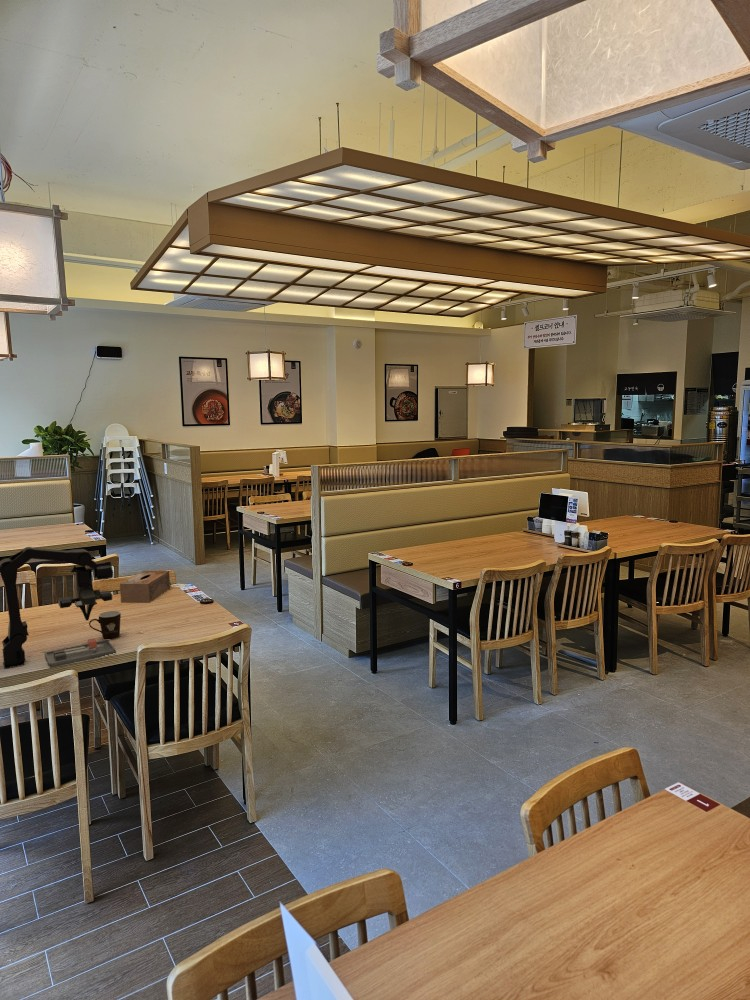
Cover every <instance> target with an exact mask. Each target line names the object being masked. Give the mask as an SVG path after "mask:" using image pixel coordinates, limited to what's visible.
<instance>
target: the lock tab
mask: <svg viewBox="0 0 750 1000" xmlns="http://www.w3.org/2000/svg"><path fill="white" fill-rule="evenodd" d="M96 642H97V640H96V638H90V639H89V638H88V639H87V644H88V646H89V647H90V648H94V647H97V643H96Z"/></svg>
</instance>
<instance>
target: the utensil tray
mask: <svg viewBox="0 0 750 1000" xmlns="http://www.w3.org/2000/svg"><path fill="white" fill-rule="evenodd" d="M96 643H97V645H99V644H104V645H105V650H104V651H99V652H96V653H93V654H89V655H84V656H79V657H75V658H70V659H65V660H61V661H55V659H54V651H59V650H66V649H72V648H77V647H83V646H85V648H87V647H88V643H83V644H80V645H79V644H78V645H75V646H70V647H69V646H68V647H64V648H60V649H54V650H48V651H44V654H43V655H44V657H45V660H46V663H47V662H48V663H47V665H48V667H49V669H51V668H57V667H60V666H61V667H62V666H66V665H70V664H74V663H75V662H76V663H78V662H79V663H80V662H85V661H89V660H93V659H98V658H103V657H102V656H104V657H106V656H105V655H108V656H110V655H109V654H113V653H116V654H117V649H116V648H115V647H114V646H113V645H112V643H111V641H109V640H105V639H103V640H99V641H96ZM113 655H114V654H113ZM76 663H75V664H76Z"/></svg>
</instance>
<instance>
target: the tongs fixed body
mask: <svg viewBox="0 0 750 1000" xmlns="http://www.w3.org/2000/svg"><path fill="white" fill-rule="evenodd" d="M104 650H105V645H104V644H99V645H97V647H94V648H90V647H89V646H88V647H87V648H85V649H80V650H75V651H70V652H64V653H59V654H55V661H61V660H65V659H70V658H75V657H79V656H84V655H89V654H93V653H96V652H99V651H104Z"/></svg>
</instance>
